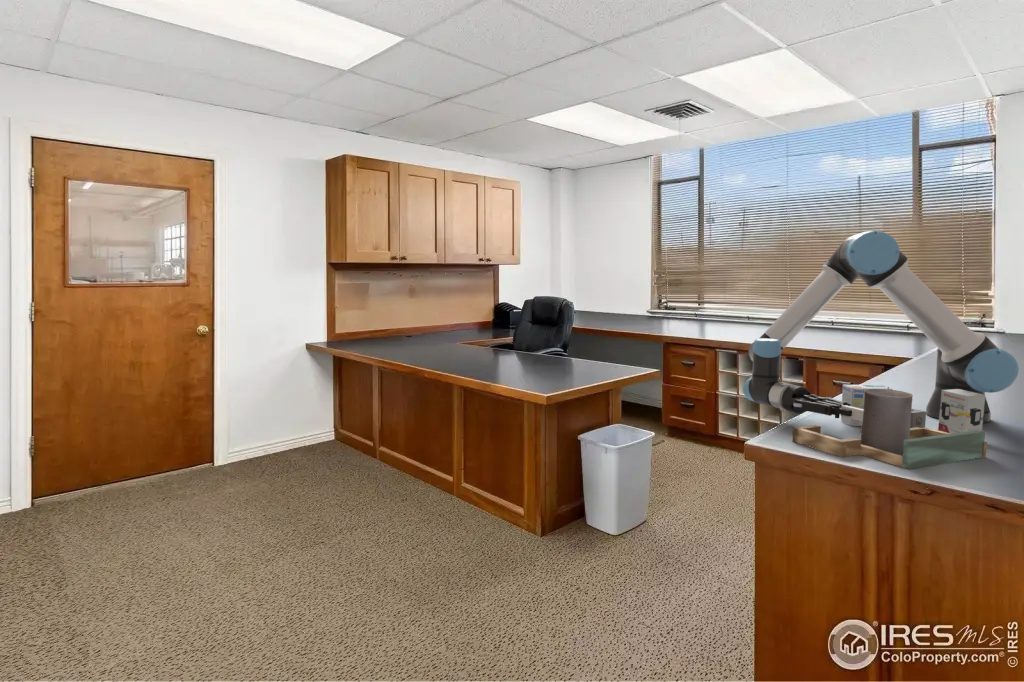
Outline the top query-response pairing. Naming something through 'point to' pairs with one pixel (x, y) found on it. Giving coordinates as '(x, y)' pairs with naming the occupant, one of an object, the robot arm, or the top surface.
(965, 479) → the top surface
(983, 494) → the top surface
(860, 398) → the light bulb box
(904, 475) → the top surface
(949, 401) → the ink box
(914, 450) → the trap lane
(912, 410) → the grey cube block
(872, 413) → the pillar candle
